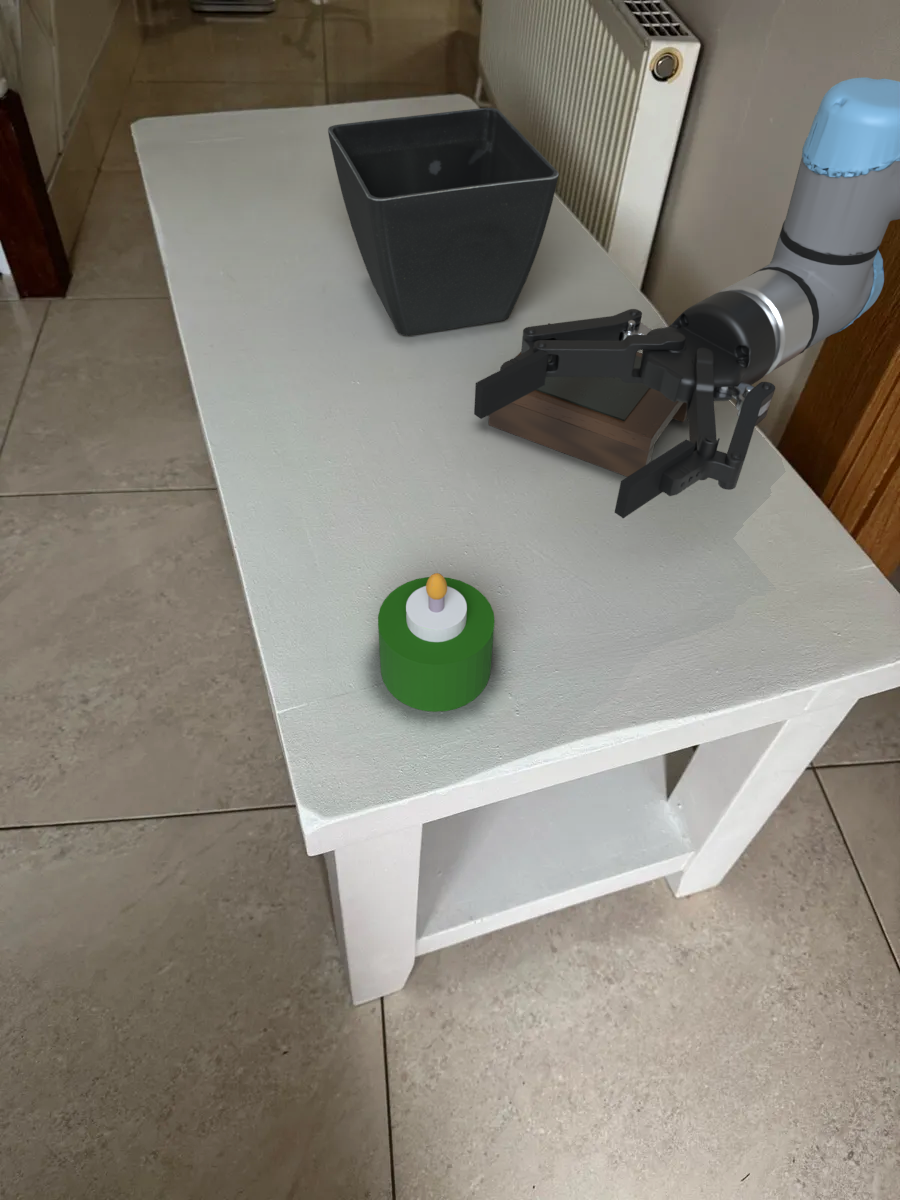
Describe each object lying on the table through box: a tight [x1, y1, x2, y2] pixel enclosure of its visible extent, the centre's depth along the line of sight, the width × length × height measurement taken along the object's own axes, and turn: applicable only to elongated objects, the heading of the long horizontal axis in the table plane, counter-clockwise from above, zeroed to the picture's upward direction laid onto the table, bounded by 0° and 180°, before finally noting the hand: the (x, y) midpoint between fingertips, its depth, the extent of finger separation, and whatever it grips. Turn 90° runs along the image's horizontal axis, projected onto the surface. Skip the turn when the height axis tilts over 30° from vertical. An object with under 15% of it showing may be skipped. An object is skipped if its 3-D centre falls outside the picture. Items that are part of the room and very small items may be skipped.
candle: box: [377, 572, 496, 713], centre depth 66 cm, size 8×8×10 cm
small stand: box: [488, 322, 687, 477], centre depth 89 cm, size 16×12×5 cm
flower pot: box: [327, 107, 560, 336], centre depth 99 cm, size 19×19×17 cm
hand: (545, 448), depth 63 cm, fingers open, 13 cm apart
